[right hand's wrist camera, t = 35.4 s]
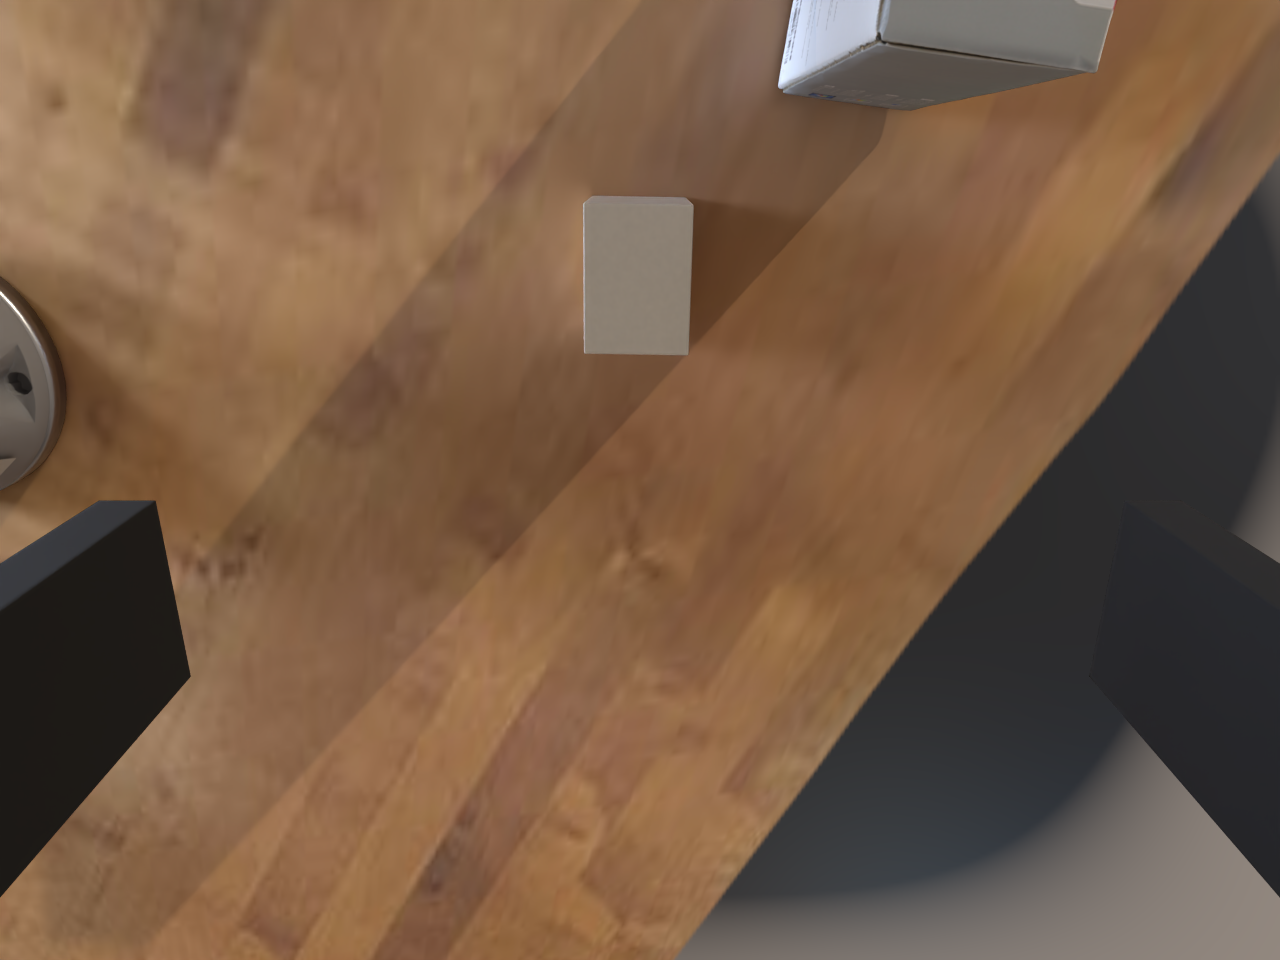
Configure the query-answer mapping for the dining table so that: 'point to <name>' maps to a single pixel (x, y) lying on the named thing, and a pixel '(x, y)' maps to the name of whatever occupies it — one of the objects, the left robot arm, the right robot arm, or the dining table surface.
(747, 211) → the dining table surface
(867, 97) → the hard drive box
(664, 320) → the brick
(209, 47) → the dining table surface
